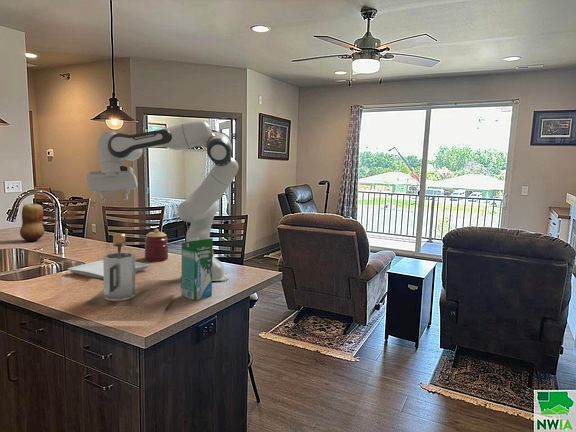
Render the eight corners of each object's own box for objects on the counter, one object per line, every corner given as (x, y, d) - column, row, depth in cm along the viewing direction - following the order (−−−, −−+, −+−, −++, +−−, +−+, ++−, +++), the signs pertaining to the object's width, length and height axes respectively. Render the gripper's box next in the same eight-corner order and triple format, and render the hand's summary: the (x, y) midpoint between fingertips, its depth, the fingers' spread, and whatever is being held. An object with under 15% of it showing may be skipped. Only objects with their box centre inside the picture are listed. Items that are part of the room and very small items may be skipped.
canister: (161, 262, 218) (161, 231, 216) (140, 260, 220) (139, 229, 218) (172, 257, 231) (172, 228, 229) (151, 255, 233) (151, 226, 231)
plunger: (132, 291, 159) (132, 233, 156) (126, 297, 152) (125, 236, 149) (113, 290, 159) (112, 232, 156) (106, 296, 151) (105, 235, 148)
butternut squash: (38, 243, 255) (37, 205, 252) (16, 242, 253) (14, 204, 250) (48, 239, 269) (47, 203, 266) (27, 239, 267) (25, 202, 264)
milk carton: (198, 291, 171) (199, 234, 168) (211, 296, 165) (212, 237, 162) (181, 295, 164) (181, 237, 161) (194, 301, 158) (195, 240, 155)
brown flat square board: (152, 292, 166) (152, 289, 166) (137, 309, 146) (137, 305, 146) (104, 292, 165) (103, 288, 164) (82, 309, 145) (82, 305, 145)
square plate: (150, 271, 201) (150, 263, 201) (106, 284, 177) (106, 275, 176) (112, 263, 213) (112, 256, 212) (66, 275, 188) (65, 267, 187)
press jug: (138, 292, 161) (138, 252, 159) (126, 304, 147) (126, 261, 145) (110, 292, 160) (110, 252, 158) (96, 304, 146) (95, 260, 144)
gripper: (84, 170, 168) (87, 202, 168) (133, 166, 171) (136, 198, 171) (89, 172, 174) (92, 203, 174) (136, 168, 177) (140, 199, 177)
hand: (114, 200), depth 173 cm, fingers open, 8 cm apart
